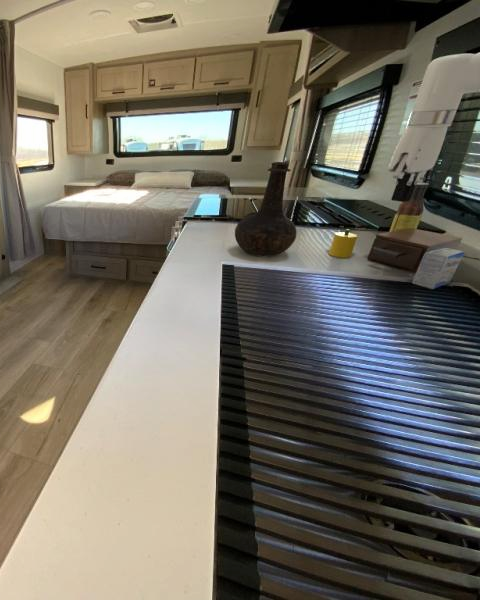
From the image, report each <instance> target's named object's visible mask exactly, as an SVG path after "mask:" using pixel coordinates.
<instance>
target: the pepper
mask: <svg viewBox="0 0 480 600" xmlns="http://www.w3.org/2000/svg"><path fill="white" fill-rule="evenodd" d="M357 239H358V234H356V233H352V232H351V230H350V228H347V229H345V231H341V232H340V231H339V232H335V233H334V235H333V239H332V242H331V246H330V249H329V251H328V254H329V255H330V256H332V257H334V258H341V259H343V258H344V259H348V258H351V256H352V253H353V251H354V248H355V245H356V241H357Z"/></svg>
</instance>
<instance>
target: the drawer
mask: <svg viewBox="0 0 480 600" xmlns="http://www.w3.org/2000/svg"><path fill="white" fill-rule="evenodd" d="M423 251H424V248H422V247H417V246H413V245H409V244H404V243H400V242H395V241H391V240H387V239H380V238H375V237H374V240H373V242H372V244H371V247H370V251H369V252H368V255H367V258H368V257H370V258H374V259H377V260H381V261H385V262H388V263H392V264H395V265H399V266H403V267H406V268H410V269H415V268H416V266H417V264H418V262H419V260H420V257H421V255H422V253H423Z"/></svg>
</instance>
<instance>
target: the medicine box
mask: <svg viewBox="0 0 480 600" xmlns="http://www.w3.org/2000/svg"><path fill="white" fill-rule="evenodd" d="M465 254H466V253H465V251H464V250H460V249H457V250H455V249H449V248H440V249H437V250H433V251H430V252H426V253H425V254H424V256H423V259H422V261H421V263H420V266H419V268H418V270H417V272H415V275H414V277H413V279H412V283H411V284H413V285H415V286H420V287H423V288H426V289H430V290H436V289H437V288H440V287H442V286H446V285H448V284H450V283H451V281H452V279H453V277H454V275H455V273H456V271H457V269H458V267H459V265H460V263H461V261H462V259H463V258H464V255H465Z"/></svg>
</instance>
